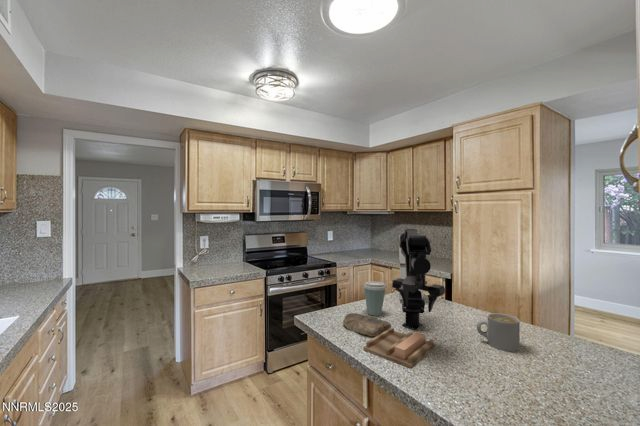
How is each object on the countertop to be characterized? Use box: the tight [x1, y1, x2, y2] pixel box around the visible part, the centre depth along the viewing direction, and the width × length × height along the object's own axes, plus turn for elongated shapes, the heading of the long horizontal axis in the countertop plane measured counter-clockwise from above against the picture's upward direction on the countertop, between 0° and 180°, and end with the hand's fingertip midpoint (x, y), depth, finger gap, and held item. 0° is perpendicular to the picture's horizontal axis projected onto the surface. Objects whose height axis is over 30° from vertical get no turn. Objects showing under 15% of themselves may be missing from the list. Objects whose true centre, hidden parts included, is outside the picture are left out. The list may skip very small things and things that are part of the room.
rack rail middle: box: [386, 332, 414, 355], centre depth 107 cm, size 18×1×2 cm, turn 137°
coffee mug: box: [476, 312, 521, 353], centre depth 110 cm, size 13×10×10 cm
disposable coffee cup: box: [363, 281, 387, 317], centre depth 142 cm, size 11×11×15 cm
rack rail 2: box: [408, 338, 435, 363], centre depth 102 cm, size 18×1×2 cm, turn 137°
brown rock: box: [342, 312, 392, 337], centre depth 126 cm, size 14×5×20 cm
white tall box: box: [398, 234, 424, 304], centre depth 161 cm, size 11×11×35 cm
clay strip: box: [395, 331, 426, 359], centre depth 104 cm, size 16×4×3 cm, turn 137°
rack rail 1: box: [365, 326, 395, 348], centre depth 113 cm, size 18×1×2 cm, turn 137°
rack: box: [363, 330, 437, 369], centre depth 107 cm, size 20×18×1 cm
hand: (417, 309), depth 113 cm, fingers open, 9 cm apart
